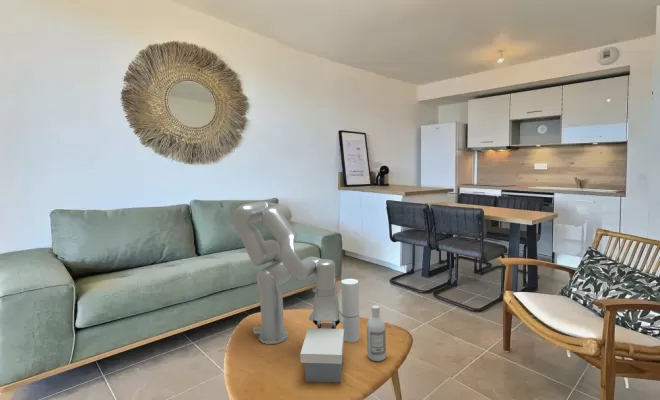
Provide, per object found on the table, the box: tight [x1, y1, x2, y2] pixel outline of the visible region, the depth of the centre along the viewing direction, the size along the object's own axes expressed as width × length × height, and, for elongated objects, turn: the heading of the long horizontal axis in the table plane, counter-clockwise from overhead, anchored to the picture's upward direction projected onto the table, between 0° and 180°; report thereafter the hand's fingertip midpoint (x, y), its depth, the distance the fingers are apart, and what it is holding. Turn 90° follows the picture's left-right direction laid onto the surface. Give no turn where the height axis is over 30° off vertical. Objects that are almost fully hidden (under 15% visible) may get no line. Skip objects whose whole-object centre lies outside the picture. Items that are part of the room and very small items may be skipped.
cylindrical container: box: [340, 278, 361, 344], centre depth 144 cm, size 7×7×25 cm
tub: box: [304, 354, 344, 383], centre depth 124 cm, size 16×12×8 cm
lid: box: [299, 322, 345, 365], centre depth 126 cm, size 23×14×3 cm, turn 175°
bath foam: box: [366, 304, 387, 362], centre depth 129 cm, size 7×7×20 cm
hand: (326, 335), depth 136 cm, fingers closed on lid, 4 cm apart
